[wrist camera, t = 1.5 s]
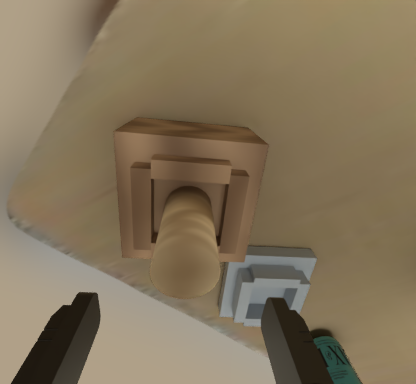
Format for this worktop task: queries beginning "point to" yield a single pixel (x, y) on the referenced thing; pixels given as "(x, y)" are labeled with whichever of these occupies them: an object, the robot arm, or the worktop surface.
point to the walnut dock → (187, 179)
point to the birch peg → (186, 246)
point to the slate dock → (265, 282)
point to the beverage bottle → (336, 361)
